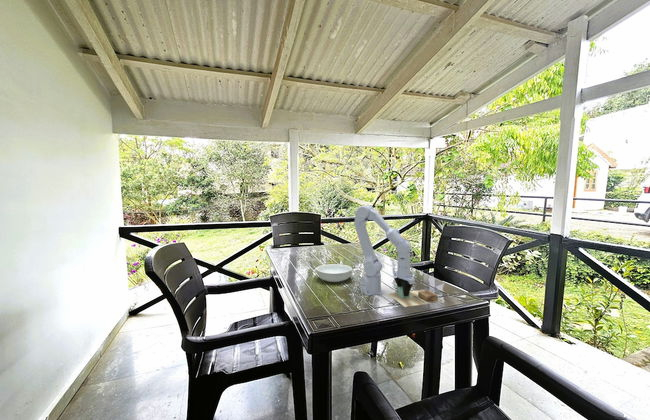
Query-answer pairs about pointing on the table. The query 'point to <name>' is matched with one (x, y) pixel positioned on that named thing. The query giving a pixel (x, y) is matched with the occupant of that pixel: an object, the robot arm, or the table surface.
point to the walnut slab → (428, 296)
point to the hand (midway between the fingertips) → (403, 294)
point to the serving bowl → (334, 272)
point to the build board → (412, 299)
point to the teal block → (400, 293)
